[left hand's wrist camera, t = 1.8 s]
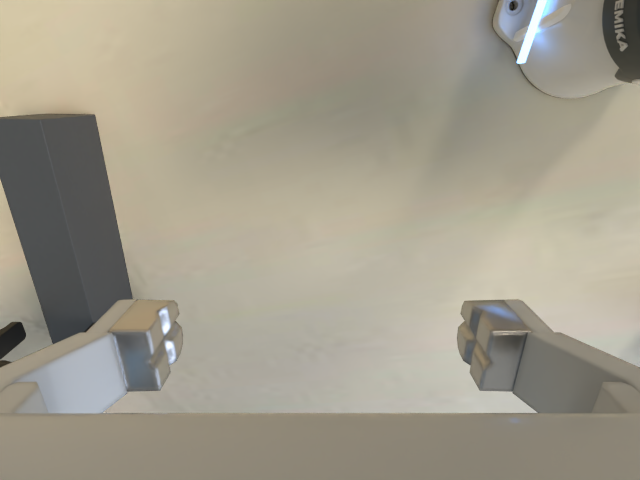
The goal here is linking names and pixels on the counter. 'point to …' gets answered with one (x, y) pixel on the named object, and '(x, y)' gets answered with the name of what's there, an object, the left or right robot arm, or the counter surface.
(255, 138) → the counter surface
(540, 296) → the counter surface
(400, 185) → the counter surface
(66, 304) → the bar
